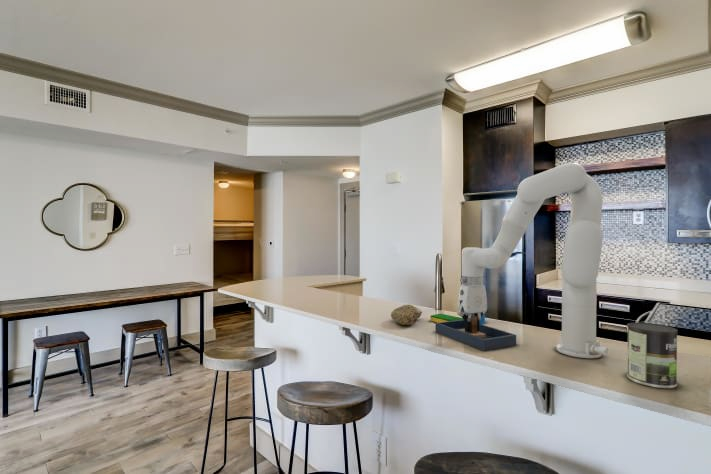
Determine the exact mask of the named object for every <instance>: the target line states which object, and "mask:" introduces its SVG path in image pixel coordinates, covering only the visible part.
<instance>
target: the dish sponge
mask: <svg viewBox="0 0 711 474" xmlns="http://www.w3.org/2000/svg"><path fill="white" fill-rule="evenodd" d="M429 320H430V322H434V323H440V322H448V321H455V320H463V318H462V317H459V316H454V315H450V314H445V313H436V314H431V315H430V319H429Z"/></svg>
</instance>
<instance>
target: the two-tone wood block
mask: <svg viewBox="0 0 711 474" xmlns="http://www.w3.org/2000/svg"><path fill="white" fill-rule="evenodd" d="M467 316H468V315H467ZM471 322H472V332H471V333H470V332H467V331H465V329H460V330H459V331H462V332H465V333H468V334H471V335H474V336H476V337H479V338H482V339H484V338H486V334H484V333H481V332H478V331H477V316H476V315H471Z"/></svg>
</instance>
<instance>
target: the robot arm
mask: <svg viewBox="0 0 711 474" xmlns="http://www.w3.org/2000/svg"><path fill="white" fill-rule="evenodd" d="M516 192H517V194H516V196H515V197H514V199H513V201H512V203H511V204H510V205H509V207H508V209H507V211H506V213H505V214H504V216H503V217H502V220H501V228H500V231H499V233H498V235H497V237H496V238H495V240H494V242H493V243H492V245H491V246H490V247H486V248H481V247H477V246H476V247H475V246H473V247H463V248H462V250H461V278H460V279H459V282H460V283H461V284H460V287H459V291H458V300H457V302H458V303H457V305H458V309H457V313H456V314H457V316H460V318H463V320H465V331H467V332H470V333H471V332H472V322H471V314H472V313H473V315H476V316H477V331H479V320H481V317H482V315H483V314H484V313H485V314H486V313H487V310H488V298H487V289H486V285H485V284H484V268H485V269H491V270H496V269H499V268H500V267H503V266H505V265H506V263H508V261H509V259H510V257H511V256H512V254H513V253H514V251H515V250H516V248H517V247H518V244H519V243H520V241H521V239H522V237H523V236H524V235H525V233H526V231H527V229H528V228H529V226H530V225H531V223H532V222H533V219H534V218H535V216H536V215H537V213H538V211H539V210H540V208H541V207H542V205H543V204H544V202H545V200H546V199H550V198H553V197H556V196H558V195H561V194H565V193H566V194H568V195H569V197H570V200H571V204H570V205H571V206H570V213H569V214H570V215H569V223H568V227H567V229H566V232H565V237H564V247H563V254H562V262H561V269H560V270H561V283H562V284H561V343H558V344H557V345H555V346H556V347H555V349H556V351H557V352H558V353H561V354H563V355H566V356H569V357H573V358H579V359H599V358H601V357H603V356H607V355H608V352H609V348H608V347H605V346H601V342H600V340H597V300H598V298H597V297H598V296H597V294H598V293H597V278H598V277H599V270H600V264H601V258H602V257H601V256H602V249H603V236H604V235H603V231H602V228H601V226H602V225H601V223H602V216H603V215H602V214H603V213H602V212H603V192H602V188H601V187H600V185H599V184H598V182H597V181H596V179H594V177H592V176H591V175H589V174H588V173H587V171H586V169H585V167H584V166H583V165H581V164H579V163H578V162H577V163H576V162H567V163H563V164H560V165H558V166H555V167H552V168H550V169H547V170H544V171H542V172H539V173H536V174H533V175H531V176H528V177H526V178H524V179H522V181H520V183H519V184H518V186H517V191H516ZM476 313H477V314H476ZM467 314H468V316H467Z"/></svg>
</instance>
